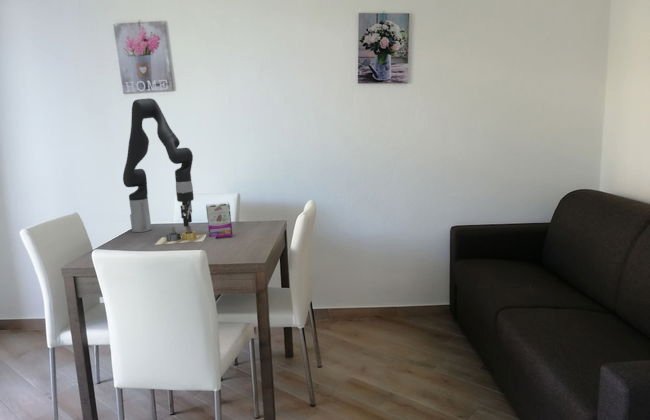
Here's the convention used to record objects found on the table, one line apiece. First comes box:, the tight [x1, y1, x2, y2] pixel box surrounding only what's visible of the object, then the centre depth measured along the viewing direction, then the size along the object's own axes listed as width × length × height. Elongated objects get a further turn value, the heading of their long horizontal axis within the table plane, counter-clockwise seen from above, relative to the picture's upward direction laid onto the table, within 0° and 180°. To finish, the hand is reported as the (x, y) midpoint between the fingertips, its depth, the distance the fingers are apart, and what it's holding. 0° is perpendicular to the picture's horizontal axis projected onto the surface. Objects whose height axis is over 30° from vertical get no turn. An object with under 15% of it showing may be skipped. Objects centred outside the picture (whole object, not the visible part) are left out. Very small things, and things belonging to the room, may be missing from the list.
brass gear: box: [181, 230, 198, 240], centre depth 223 cm, size 6×6×3 cm
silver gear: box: [165, 231, 182, 242], centre depth 222 cm, size 6×6×3 cm
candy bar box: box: [205, 202, 233, 239], centre depth 227 cm, size 11×5×16 cm, turn 105°
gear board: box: [154, 225, 208, 246], centre depth 222 cm, size 22×14×7 cm, turn 96°
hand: (188, 224), depth 222 cm, fingers open, 8 cm apart
